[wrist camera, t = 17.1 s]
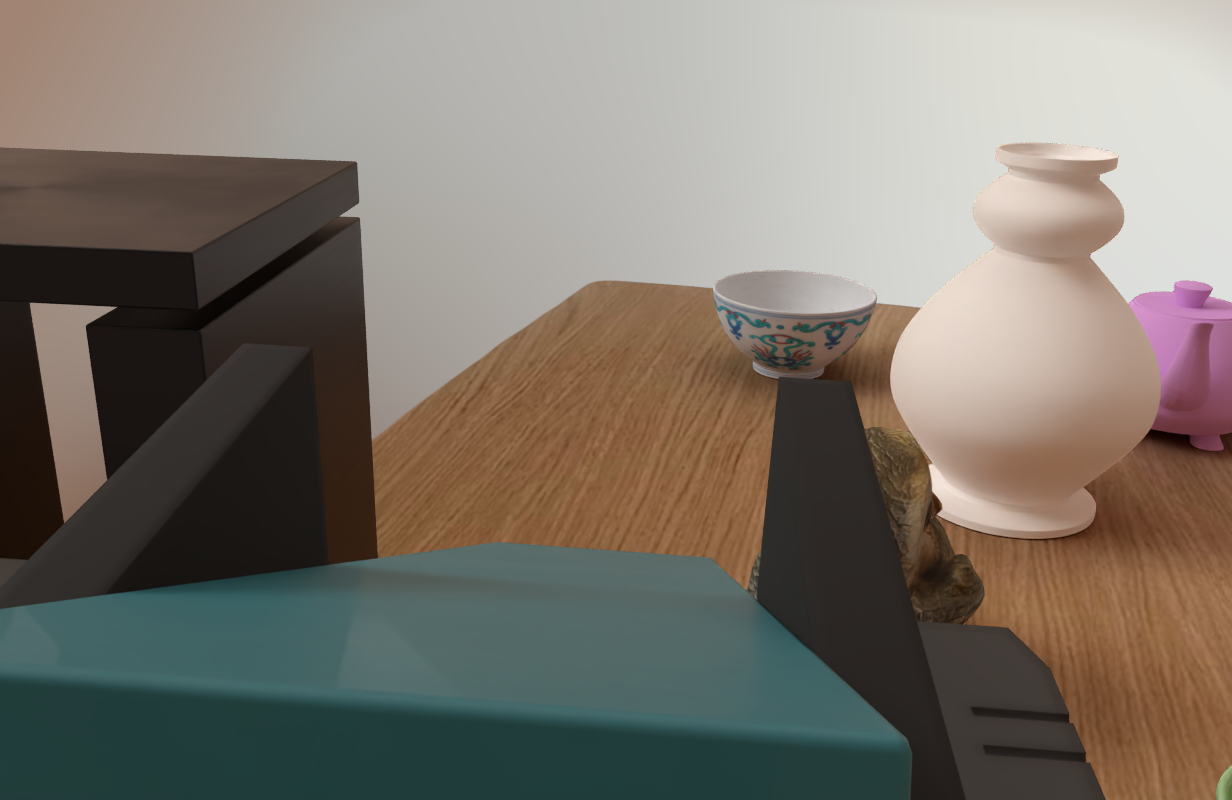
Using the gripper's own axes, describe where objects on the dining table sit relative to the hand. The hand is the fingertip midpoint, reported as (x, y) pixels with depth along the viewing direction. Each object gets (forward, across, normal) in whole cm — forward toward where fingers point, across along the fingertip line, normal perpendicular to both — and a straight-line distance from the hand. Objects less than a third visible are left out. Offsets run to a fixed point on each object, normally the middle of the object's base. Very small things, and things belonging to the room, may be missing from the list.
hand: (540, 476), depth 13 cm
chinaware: (+92, +12, -37) cm, 100 cm away
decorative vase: (+65, +26, -35) cm, 78 cm away
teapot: (+81, +43, -35) cm, 98 cm away
